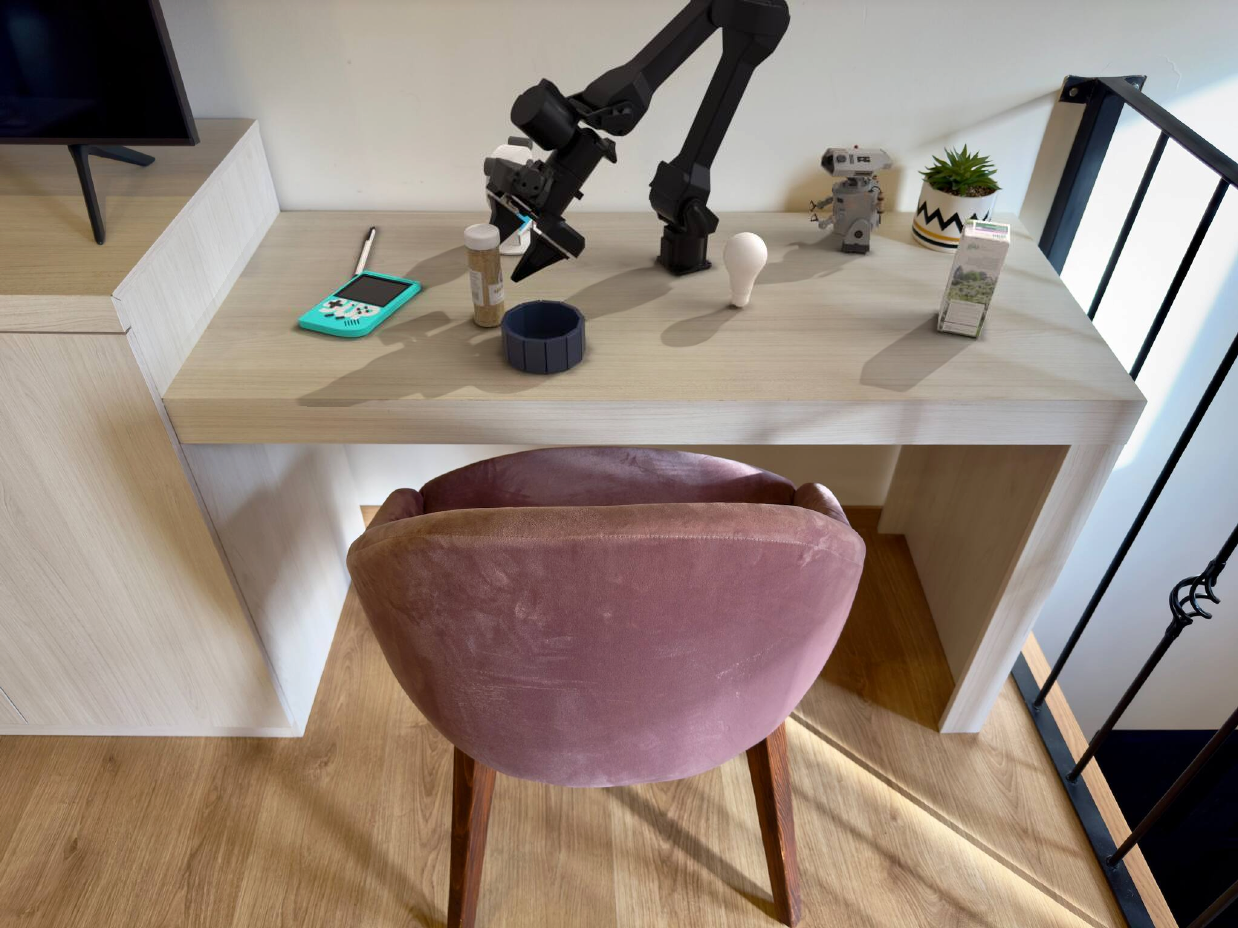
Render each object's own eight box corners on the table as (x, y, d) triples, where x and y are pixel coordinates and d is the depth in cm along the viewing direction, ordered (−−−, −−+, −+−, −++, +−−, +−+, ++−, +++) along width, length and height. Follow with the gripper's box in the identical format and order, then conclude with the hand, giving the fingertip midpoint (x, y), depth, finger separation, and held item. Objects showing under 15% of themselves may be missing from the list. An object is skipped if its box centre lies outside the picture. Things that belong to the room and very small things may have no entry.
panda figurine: (534, 260, 134) (528, 166, 124) (467, 251, 136) (457, 157, 127) (559, 229, 143) (556, 138, 133) (496, 220, 145) (488, 131, 135)
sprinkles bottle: (508, 326, 118) (501, 235, 110) (475, 330, 118) (465, 238, 109) (504, 310, 122) (496, 220, 113) (472, 313, 121) (461, 223, 112)
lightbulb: (765, 301, 125) (775, 230, 118) (752, 320, 120) (762, 247, 113) (726, 292, 127) (733, 221, 120) (711, 311, 122) (718, 239, 115)
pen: (377, 230, 142) (375, 223, 142) (359, 284, 128) (357, 278, 127) (371, 230, 142) (370, 224, 142) (353, 285, 128) (351, 278, 127)
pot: (541, 323, 119) (540, 292, 116) (600, 348, 114) (600, 317, 111) (487, 355, 113) (484, 323, 110) (547, 383, 108) (546, 351, 105)
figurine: (802, 227, 144) (816, 137, 135) (871, 231, 143) (890, 140, 134) (805, 251, 137) (820, 158, 128) (878, 255, 136) (898, 162, 127)
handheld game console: (297, 326, 118) (295, 318, 117) (364, 276, 129) (363, 268, 129) (358, 341, 115) (357, 332, 114) (422, 288, 127) (421, 280, 126)
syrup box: (980, 319, 121) (1011, 222, 112) (979, 340, 117) (1011, 240, 108) (938, 312, 123) (965, 215, 113) (936, 332, 118) (964, 234, 109)
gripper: (492, 113, 113) (425, 211, 116) (560, 158, 101) (484, 266, 104) (548, 161, 121) (484, 251, 124) (617, 207, 109) (545, 306, 112)
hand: (497, 267), depth 116 cm, fingers open, 9 cm apart
